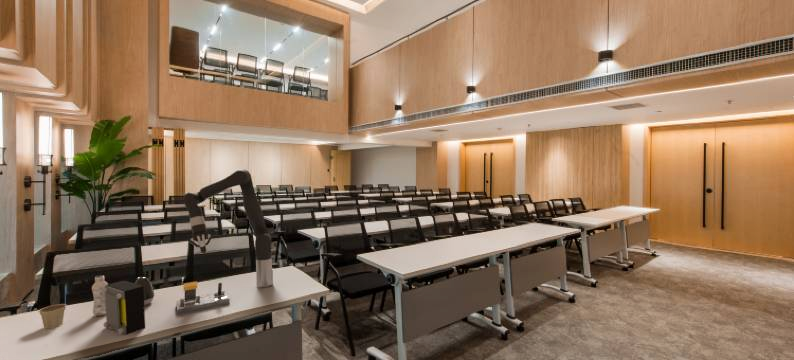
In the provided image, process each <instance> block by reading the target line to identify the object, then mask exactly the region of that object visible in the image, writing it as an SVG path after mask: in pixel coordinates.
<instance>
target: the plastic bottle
mask: <svg viewBox="0 0 794 360" xmlns="http://www.w3.org/2000/svg"><path fill="white" fill-rule="evenodd" d="M108 284H109V283H108V282H107V281H105V275H96V276H95V277H94V283H93V284H92V286H91V291H92V295H93V308H92V314H93V315H94V317H100V316H104V315H105V316H106V298H105V294H106V293H103V292H102V290H103V289H105V286H106V285H108Z"/></svg>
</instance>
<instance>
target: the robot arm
mask: <svg viewBox="0 0 794 360" xmlns="http://www.w3.org/2000/svg"><path fill="white" fill-rule="evenodd" d="M251 175H252V174H251V173H250V171H248V170H247V169H244V168H243V169H237V170H236V171H234V172H233V173H231V174H230V175H228V176H226V177H225V178H223V179H221V180H218V181H216V182H214V183H211V184H209V185H206V186H204V187H202V188H200V190H199V191H198V192H187V193H185V194H184V196H183V204H184V206H185V208H186V210H187V212H188V218H189V223H190V228H191V233H192V236H191V239H189V240H188V243H190V244H192V245H193V246H194V247H196V248H199V249H200V253H201V254H206V252H207V246H208V245H209V244H210V242H211V240H212V238H213V235H212V234H210V233H208V230H207V225H206V221H205V218H204V215H203V210H202V208H201V207H200V206H199V205H200V204H202V203H203V202H205V201H206V200H208V199H209V198H213V197H214V196H217V195H219V194H220V193H222V192H224V191H225V190H228V189H230V188H234V187H236V186H239V187H240V190H241V192H242V202H243V209H244V212H245V214H246V217H247V220H249V223H250V224H251V226H252V228H253V231H254V236H255V240H254V242H255V243H254V249H255V253H254V254H255V266H256V267H255V271H256V272H255V273H256V274H255V276H256V287H257V288H262V287H263V288H267V287H271V286H273V285H274V270H273V266H272V265H273V264H272V263H273V262H272V258H273V257H272V236H271V234H270V232H269V230H268V228H267V225H266V223H265V219H264V213H263V210H262V206H261V204H260V201H259V198H258V195H257V193H256V191H255V189H254V188H255V187H254V183H253V178H252V176H251ZM206 240H207V241H206ZM196 242H197V243H198V244H197V243H196ZM270 285H271V286H270Z"/></svg>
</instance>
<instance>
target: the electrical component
mask: <svg viewBox="0 0 794 360" xmlns="http://www.w3.org/2000/svg"><path fill="white" fill-rule="evenodd" d="M102 292H103V293H106V294H105V298H106V314H105V316H106V317H105V318H106V322H103V327H104V328H109V329H111V330H114V331H115V332H117V333H118V334H119V335H125V336H128V335H130V334H132V333H135V332H138V331H140V330H143V329H146V319H145V318H146V316H145V315H146V314H145V312H146V311H145V306H144V286H142V285H138V284H135V282H130V281H128V280H121V281H116V282H113V283H108V285H106V286H105V289H103V290H102Z"/></svg>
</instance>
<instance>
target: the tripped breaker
mask: <svg viewBox="0 0 794 360" xmlns="http://www.w3.org/2000/svg"><path fill="white" fill-rule="evenodd" d="M182 287H183V292H184V299H185V302H190V301H195V300H196V295H197V289H198V281H191V282H185V283H183V286H182Z"/></svg>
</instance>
